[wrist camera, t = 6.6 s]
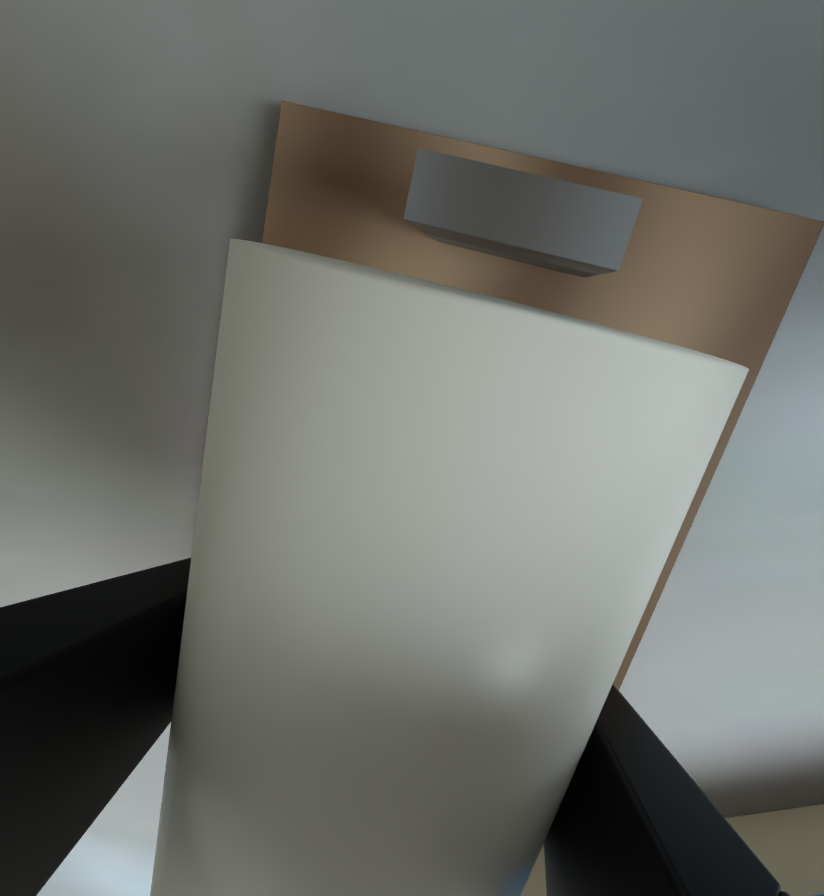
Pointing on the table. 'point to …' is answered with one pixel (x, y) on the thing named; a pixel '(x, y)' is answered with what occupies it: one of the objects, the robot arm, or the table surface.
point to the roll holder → (543, 243)
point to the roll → (412, 576)
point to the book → (762, 849)
